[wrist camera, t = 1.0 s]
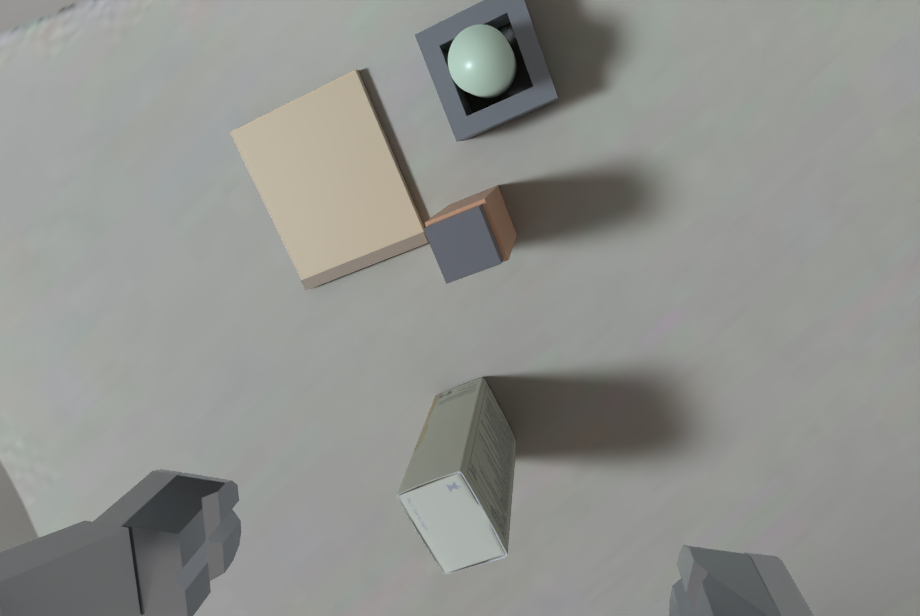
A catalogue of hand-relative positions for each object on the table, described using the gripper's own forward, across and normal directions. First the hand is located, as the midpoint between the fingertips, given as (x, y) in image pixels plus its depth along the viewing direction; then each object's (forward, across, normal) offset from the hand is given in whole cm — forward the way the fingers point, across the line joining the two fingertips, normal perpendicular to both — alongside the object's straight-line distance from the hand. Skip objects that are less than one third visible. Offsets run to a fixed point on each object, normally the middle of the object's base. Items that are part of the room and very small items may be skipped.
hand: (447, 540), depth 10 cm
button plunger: (+27, +3, -11) cm, 30 cm away
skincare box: (+30, +2, +14) cm, 33 cm away
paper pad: (+30, +13, -3) cm, 33 cm away
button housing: (+30, +3, -11) cm, 32 cm away
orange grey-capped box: (+30, +2, -1) cm, 30 cm away
